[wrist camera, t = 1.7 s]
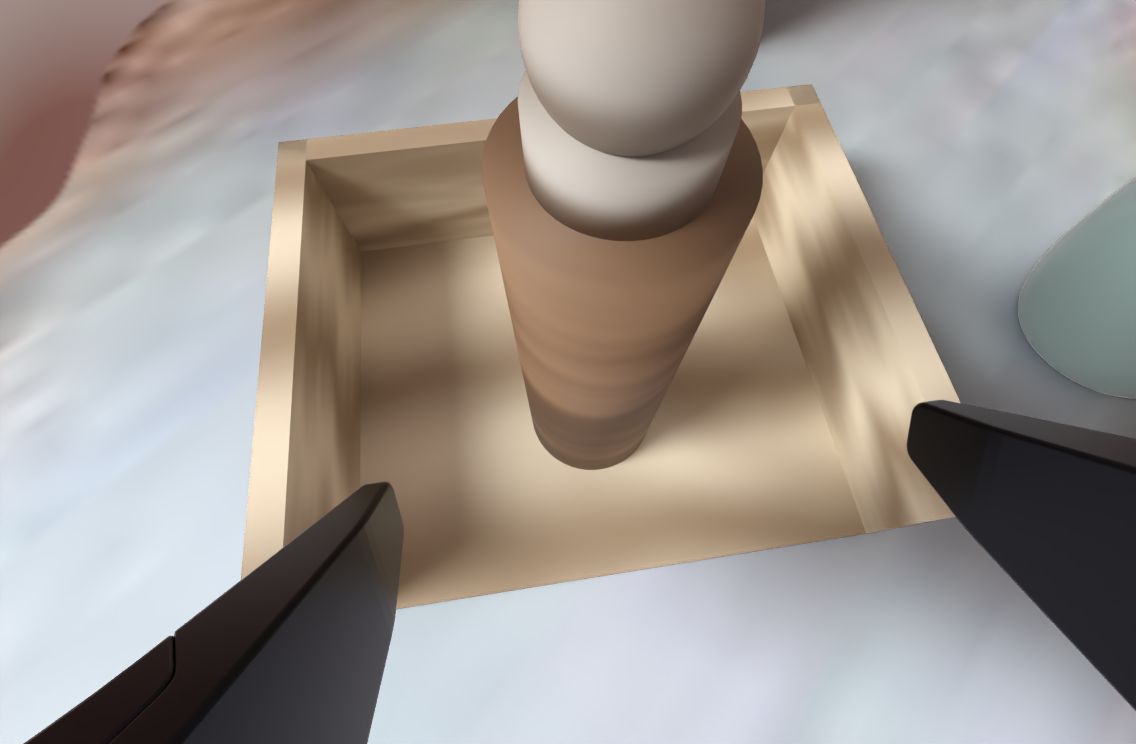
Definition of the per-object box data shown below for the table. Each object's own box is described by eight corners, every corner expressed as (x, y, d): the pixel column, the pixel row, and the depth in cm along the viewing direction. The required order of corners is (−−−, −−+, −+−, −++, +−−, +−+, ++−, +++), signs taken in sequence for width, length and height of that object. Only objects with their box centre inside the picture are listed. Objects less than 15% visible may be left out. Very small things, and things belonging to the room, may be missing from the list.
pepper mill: (629, 486, 19) (863, 86, 4) (514, 446, 20) (336, -36, 5) (662, 378, 21) (917, -195, 6) (555, 344, 22) (524, -258, 6)
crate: (883, 530, 19) (1009, 506, 14) (337, 618, 18) (236, 630, 13) (759, 194, 26) (811, 84, 20) (344, 244, 24) (278, 142, 19)
